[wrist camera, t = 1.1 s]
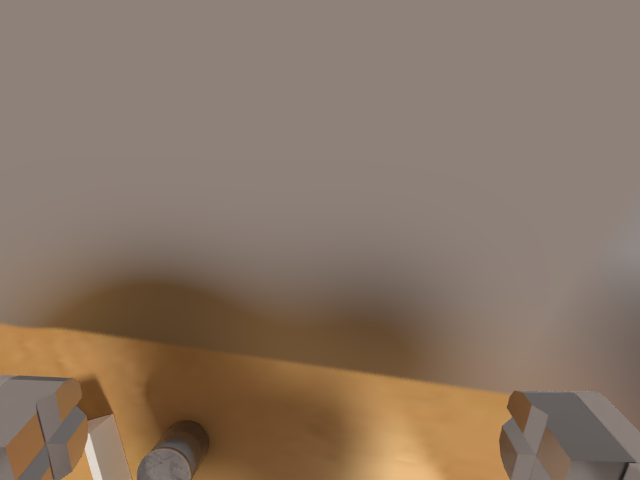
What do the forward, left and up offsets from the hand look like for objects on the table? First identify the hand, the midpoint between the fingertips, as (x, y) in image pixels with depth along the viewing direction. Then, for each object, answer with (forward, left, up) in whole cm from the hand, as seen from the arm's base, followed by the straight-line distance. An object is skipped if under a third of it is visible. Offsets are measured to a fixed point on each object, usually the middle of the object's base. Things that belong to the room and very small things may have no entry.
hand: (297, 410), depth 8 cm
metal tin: (-17, +23, -42) cm, 51 cm away
